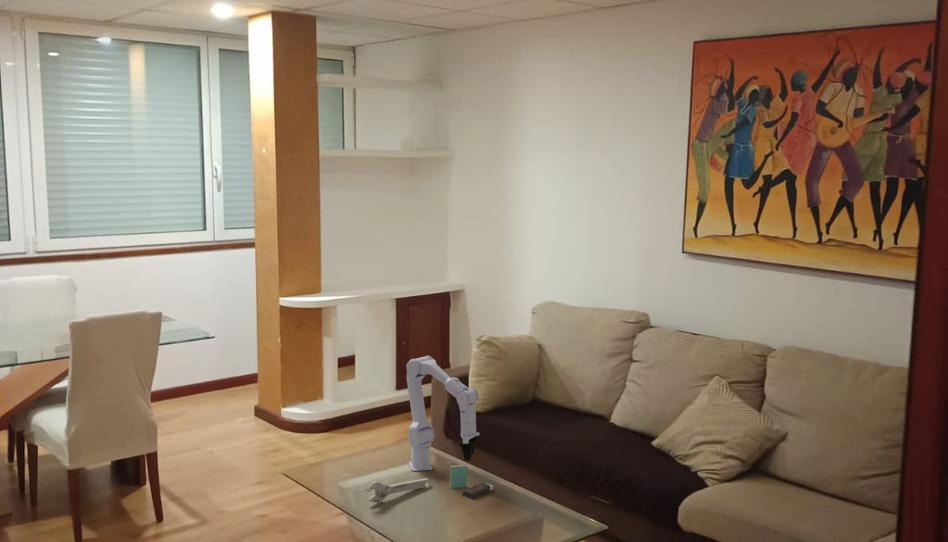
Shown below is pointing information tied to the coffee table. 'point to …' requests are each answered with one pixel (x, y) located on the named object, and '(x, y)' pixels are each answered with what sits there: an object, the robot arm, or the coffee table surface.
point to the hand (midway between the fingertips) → (469, 457)
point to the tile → (458, 476)
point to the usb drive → (477, 491)
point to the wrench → (394, 488)
